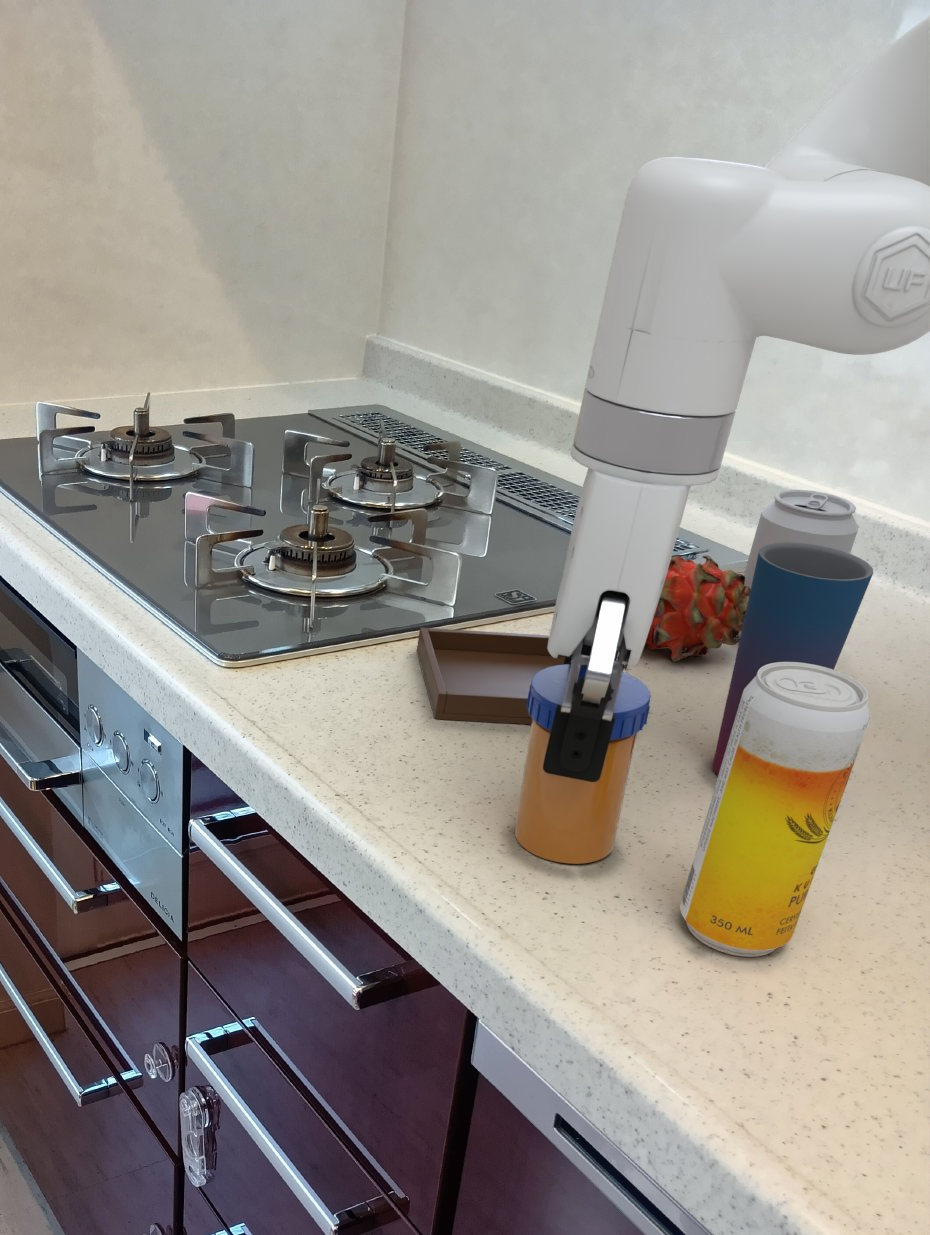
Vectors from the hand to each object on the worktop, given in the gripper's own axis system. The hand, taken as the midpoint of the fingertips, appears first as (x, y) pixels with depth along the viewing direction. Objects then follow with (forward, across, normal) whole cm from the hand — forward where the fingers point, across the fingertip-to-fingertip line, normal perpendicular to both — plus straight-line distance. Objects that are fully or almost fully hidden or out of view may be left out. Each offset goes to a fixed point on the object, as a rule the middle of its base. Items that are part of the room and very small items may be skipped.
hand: (574, 745), depth 76 cm
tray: (+6, -22, -4) cm, 23 cm away
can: (+6, -40, +16) cm, 44 cm away
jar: (+6, 0, +1) cm, 6 cm away
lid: (-3, 0, 0) cm, 3 cm away
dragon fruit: (+6, -34, +7) cm, 35 cm away
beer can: (+6, +6, +10) cm, 14 cm away
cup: (+6, -14, +12) cm, 20 cm away
